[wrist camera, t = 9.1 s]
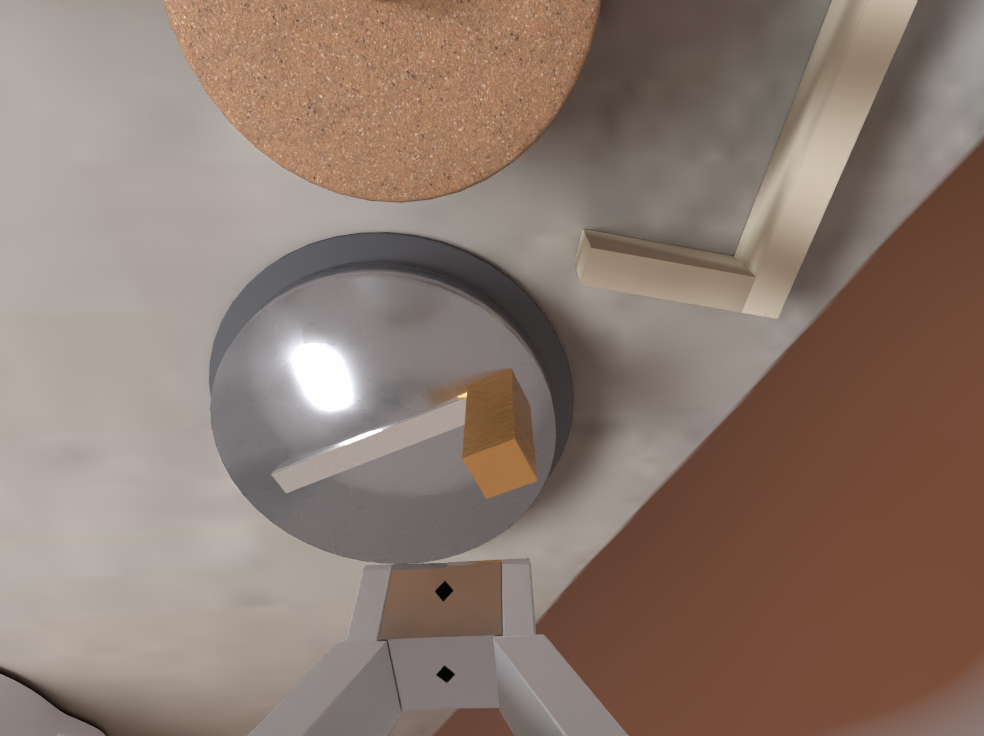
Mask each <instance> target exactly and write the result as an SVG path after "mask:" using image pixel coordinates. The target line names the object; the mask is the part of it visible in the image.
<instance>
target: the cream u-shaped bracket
mask: <svg viewBox="0 0 984 736" xmlns="http://www.w3.org/2000/svg"><path fill="white" fill-rule="evenodd" d="M917 1H918V0H832V1H831V4H830V6H829V9H828V12H827V14H826V17H825V19H824V22H823V25H822V27H821V30H820V33H819V35H818V38H817V40H816V43H815V46H814V48H813V51H812V53H811V56H810V59H809V61H808V64H807V67H806V69H805V72H804V74H803V77H802V80H801V82H800V85H799V87H798V90H797V93H796V95H795V98H794V100H793V103H792V106H791V108H790V111H789V114H788V116H787V119H786V121H785V124H784V127H783V129H782V132H781V134H780V137H779V140H778V142H777V145H776V148H775V150H774V153H773V155H772V158H771V161H770V163H769V166H768V168H767V171H766V174H765V176H764V179H763V181H762V184H761V187H760V189H759V192H758V195H757V197H756V200H755V202H754V205H753V208H752V210H751V213H750V215H749V218H748V221H747V223H746V226H745V229H744V231H743V234H742V236H741V239H740V242H739V244H738V247H737V249H736V252H735V255H734V256H730V255H724V254H719V253H713V252H708V251H702V250H697V249H691V248H686V247H680V246H674V245H669V244H663V243H658V242H652V241H647V240H641V239H636V238H630V237H625V236H619V235H614V234H608V233H603V232H597V231H591V230H586V229H583V231H582V235H581V239H580V243H579V247H578V251H577V254H576V258H575V262H574V264H575V267H576V270H577V273H578V276H579V279H580V282H581V285H584V286H590V287H596V288H602V289H608V290H613V291H619V292H625V293H631V294H637V295H642V296H648V297H654V298H660V299H665V300H671V301H677V302H683V303H689V304H694V305H700V306H706V307H712V308H717V309H723V310H729V311H735V312H741V313H746V314H752V315H758V316H764V317H769V318H775V319H778V317H779V315H780V312H781V310H782V308H783V306H784V303H785V301H786V299H787V296H788V294H789V292H790V290H791V287H792V285H793V283H794V281H795V278H796V276H797V274H798V272H799V269H800V267H801V265H802V262H803V260H804V258H805V256H806V253H807V251H808V249H809V247H810V244H811V242H812V240H813V237H814V235H815V233H816V231H817V228H818V226H819V224H820V222H821V219H822V217H823V215H824V212H825V210H826V208H827V206H828V203H829V201H830V199H831V197H832V194H833V192H834V190H835V187H836V185H837V183H838V181H839V178H840V176H841V174H842V172H843V169H844V167H845V165H846V162H847V160H848V158H849V156H850V153H851V151H852V149H853V147H854V144H855V142H856V140H857V138H858V135H859V133H860V131H861V128H862V126H863V124H864V122H865V119H866V117H867V115H868V113H869V110H870V108H871V106H872V103H873V101H874V99H875V97H876V94H877V92H878V90H879V88H880V85H881V83H882V81H883V78H884V76H885V74H886V72H887V69H888V67H889V65H890V63H891V60H892V58H893V56H894V53H895V51H896V49H897V47H898V44H899V42H900V40H901V38H902V35H903V33H904V31H905V29H906V26H907V24H908V22H909V19H910V17H911V15H912V13H913V10H914V8H915V6H916V4H917Z"/></svg>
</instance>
